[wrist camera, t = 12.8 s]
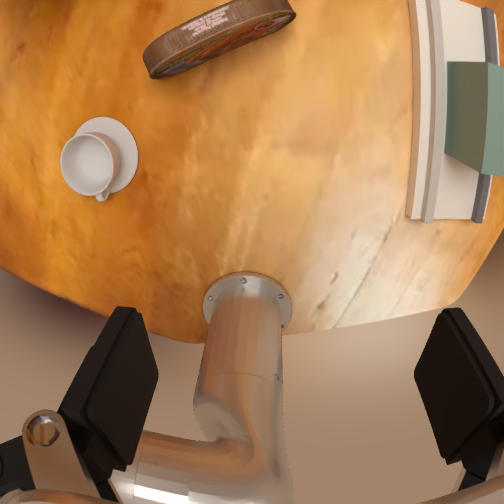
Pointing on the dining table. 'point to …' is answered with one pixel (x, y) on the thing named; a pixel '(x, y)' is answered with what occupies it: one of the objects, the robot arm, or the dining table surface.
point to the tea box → (476, 115)
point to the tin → (215, 34)
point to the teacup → (99, 158)
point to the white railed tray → (444, 108)
